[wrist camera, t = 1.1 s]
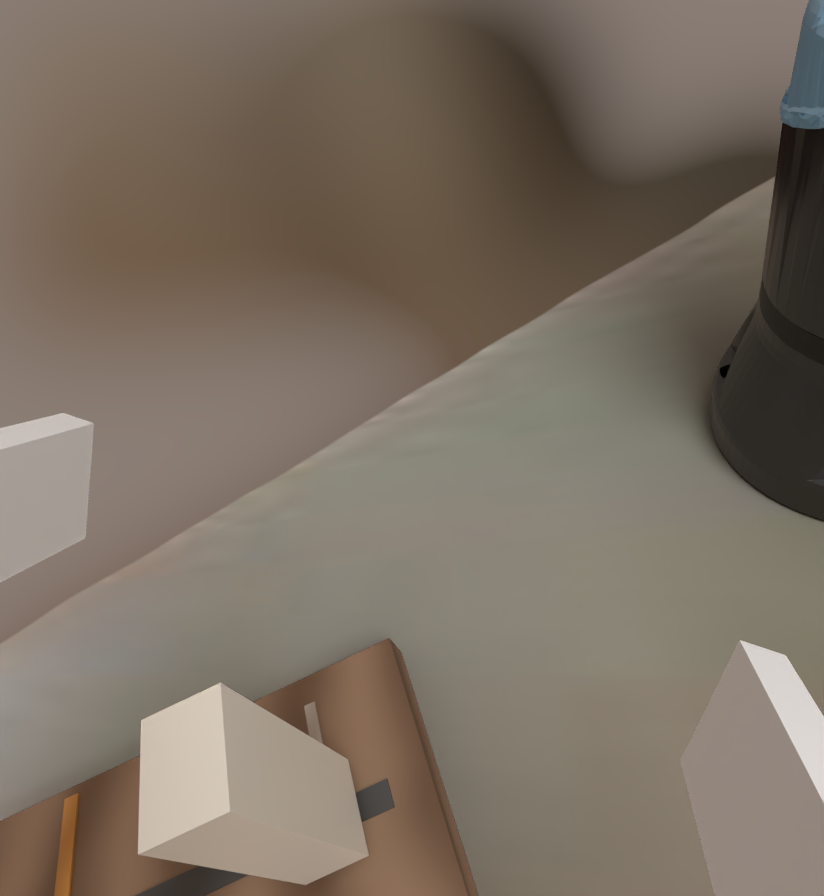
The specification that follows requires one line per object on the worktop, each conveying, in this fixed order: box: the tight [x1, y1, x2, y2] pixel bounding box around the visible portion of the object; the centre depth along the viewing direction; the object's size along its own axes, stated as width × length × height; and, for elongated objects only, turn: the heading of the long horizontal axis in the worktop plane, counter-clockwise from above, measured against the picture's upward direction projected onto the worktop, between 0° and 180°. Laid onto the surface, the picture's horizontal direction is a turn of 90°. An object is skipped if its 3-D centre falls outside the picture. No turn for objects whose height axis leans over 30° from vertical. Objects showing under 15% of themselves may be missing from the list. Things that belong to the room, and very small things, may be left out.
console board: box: [0, 638, 478, 896], centre depth 27 cm, size 24×14×2 cm, turn 108°
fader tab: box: [138, 683, 369, 885], centre depth 22 cm, size 3×4×11 cm
